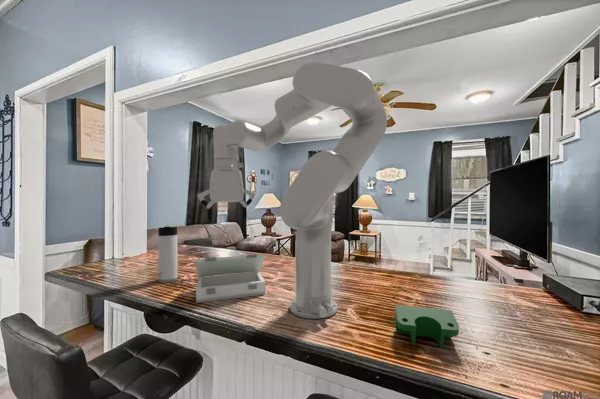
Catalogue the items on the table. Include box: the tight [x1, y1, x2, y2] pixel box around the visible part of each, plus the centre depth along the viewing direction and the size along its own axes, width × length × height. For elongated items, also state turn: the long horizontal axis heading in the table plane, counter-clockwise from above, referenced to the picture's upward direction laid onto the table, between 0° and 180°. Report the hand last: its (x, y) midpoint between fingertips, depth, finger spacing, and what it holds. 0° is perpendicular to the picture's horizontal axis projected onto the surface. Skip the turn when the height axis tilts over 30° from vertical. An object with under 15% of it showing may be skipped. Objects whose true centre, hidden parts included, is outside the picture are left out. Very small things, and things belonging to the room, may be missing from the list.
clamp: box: [394, 304, 460, 349], centre depth 53 cm, size 12×6×9 cm, turn 69°
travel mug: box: [157, 226, 179, 284], centre depth 95 cm, size 6×7×20 cm
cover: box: [195, 253, 266, 278], centre depth 83 cm, size 14×20×1 cm
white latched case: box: [195, 271, 267, 304], centre depth 82 cm, size 13×20×4 cm, turn 109°
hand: (227, 220), depth 81 cm, fingers open, 9 cm apart
